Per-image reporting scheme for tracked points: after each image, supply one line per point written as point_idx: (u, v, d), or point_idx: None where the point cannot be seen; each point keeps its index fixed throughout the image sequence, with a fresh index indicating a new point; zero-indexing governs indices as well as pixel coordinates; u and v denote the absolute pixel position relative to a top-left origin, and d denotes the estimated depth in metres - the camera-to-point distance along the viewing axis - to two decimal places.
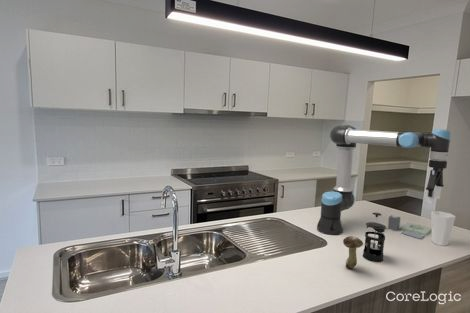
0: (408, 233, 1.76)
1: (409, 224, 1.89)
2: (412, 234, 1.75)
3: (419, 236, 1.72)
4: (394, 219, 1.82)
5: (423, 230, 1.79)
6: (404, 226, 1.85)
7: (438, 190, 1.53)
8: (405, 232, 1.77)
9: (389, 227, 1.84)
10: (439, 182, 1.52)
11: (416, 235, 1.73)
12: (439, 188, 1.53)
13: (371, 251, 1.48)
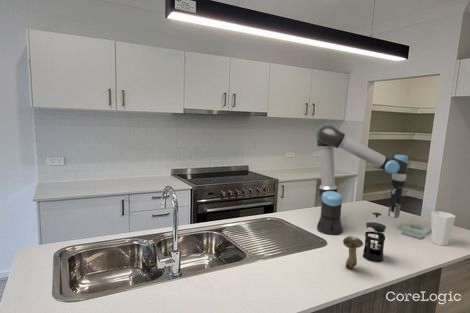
0: (408, 233, 1.76)
1: (409, 224, 1.89)
2: (412, 234, 1.75)
3: (419, 236, 1.72)
4: None
5: (423, 230, 1.79)
6: (404, 226, 1.85)
7: None
8: (405, 232, 1.78)
9: (389, 214, 1.83)
10: (398, 200, 1.84)
11: (416, 235, 1.73)
12: None
13: (371, 251, 1.48)
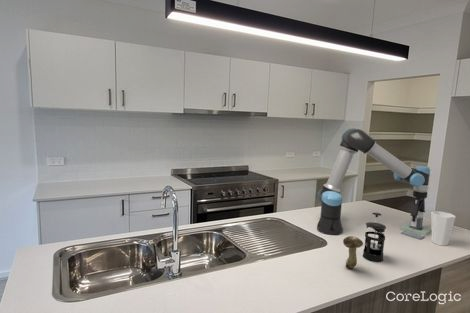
0: (408, 233, 1.76)
1: (409, 224, 1.89)
2: (412, 234, 1.75)
3: (419, 236, 1.72)
4: (417, 220, 1.81)
5: (423, 230, 1.79)
6: (404, 226, 1.85)
7: (421, 215, 1.87)
8: (405, 232, 1.78)
9: None
10: (421, 208, 1.86)
11: (416, 235, 1.73)
12: (421, 213, 1.87)
13: (371, 251, 1.48)
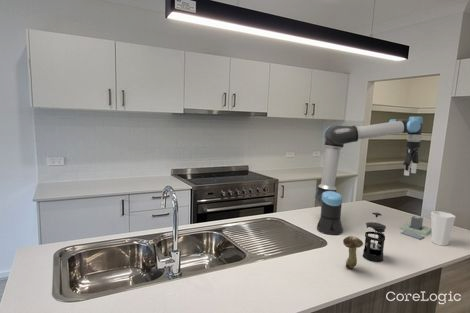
0: (408, 233, 1.76)
1: (409, 224, 1.89)
2: (412, 234, 1.75)
3: (419, 236, 1.71)
4: (417, 220, 1.81)
5: (423, 230, 1.79)
6: (404, 226, 1.85)
7: (414, 166, 1.89)
8: (405, 232, 1.78)
9: None
10: (415, 159, 1.88)
11: (416, 235, 1.73)
12: (415, 164, 1.89)
13: (371, 251, 1.48)
